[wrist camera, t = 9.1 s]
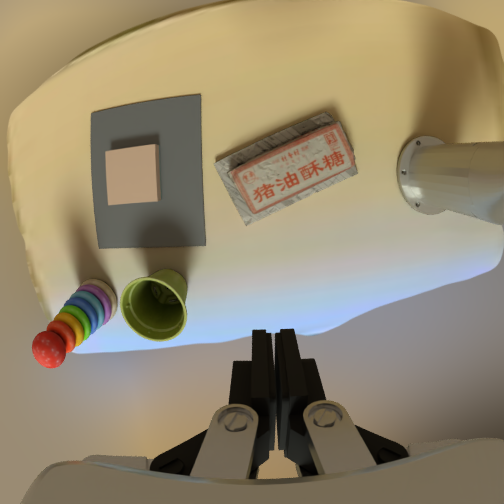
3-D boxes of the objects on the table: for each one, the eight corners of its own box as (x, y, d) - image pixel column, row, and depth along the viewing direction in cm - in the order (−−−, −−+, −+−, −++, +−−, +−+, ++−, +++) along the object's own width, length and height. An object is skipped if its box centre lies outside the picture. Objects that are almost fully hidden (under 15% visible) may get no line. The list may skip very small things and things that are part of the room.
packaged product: (336, 104, 33) (368, 173, 35) (327, 111, 37) (356, 173, 40) (208, 162, 35) (244, 232, 37) (214, 163, 40) (245, 225, 42)
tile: (155, 144, 36) (105, 151, 36) (157, 201, 38) (108, 205, 38) (159, 145, 38) (111, 152, 38) (161, 199, 40) (114, 203, 40)
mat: (200, 95, 36) (200, 94, 36) (205, 245, 42) (205, 245, 42) (92, 113, 37) (91, 113, 36) (99, 248, 43) (98, 248, 42)
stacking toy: (74, 283, 44) (9, 333, 26) (106, 271, 44) (40, 324, 26) (93, 322, 46) (39, 382, 28) (126, 313, 46) (73, 379, 28)
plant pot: (185, 250, 43) (169, 269, 34) (206, 306, 45) (197, 334, 37) (133, 267, 43) (109, 287, 35) (155, 318, 46) (138, 346, 37)
